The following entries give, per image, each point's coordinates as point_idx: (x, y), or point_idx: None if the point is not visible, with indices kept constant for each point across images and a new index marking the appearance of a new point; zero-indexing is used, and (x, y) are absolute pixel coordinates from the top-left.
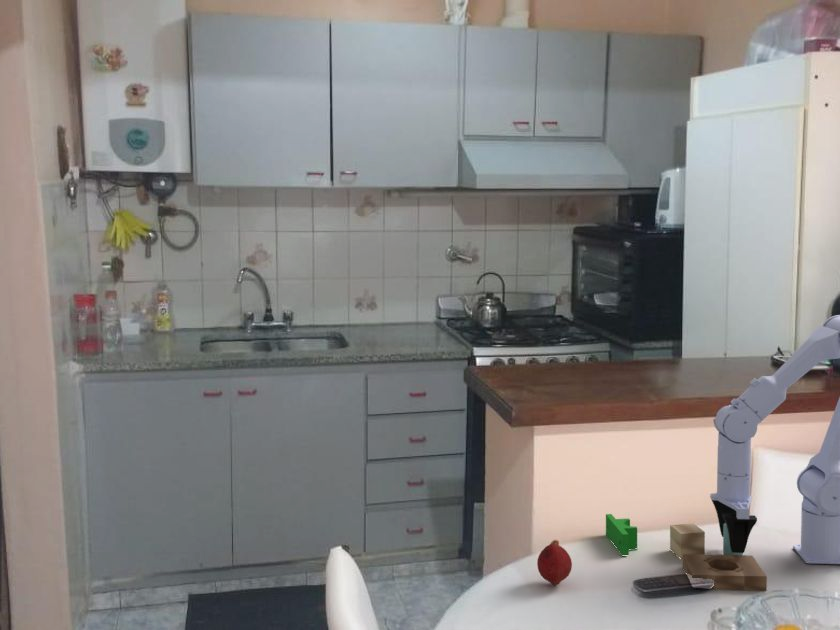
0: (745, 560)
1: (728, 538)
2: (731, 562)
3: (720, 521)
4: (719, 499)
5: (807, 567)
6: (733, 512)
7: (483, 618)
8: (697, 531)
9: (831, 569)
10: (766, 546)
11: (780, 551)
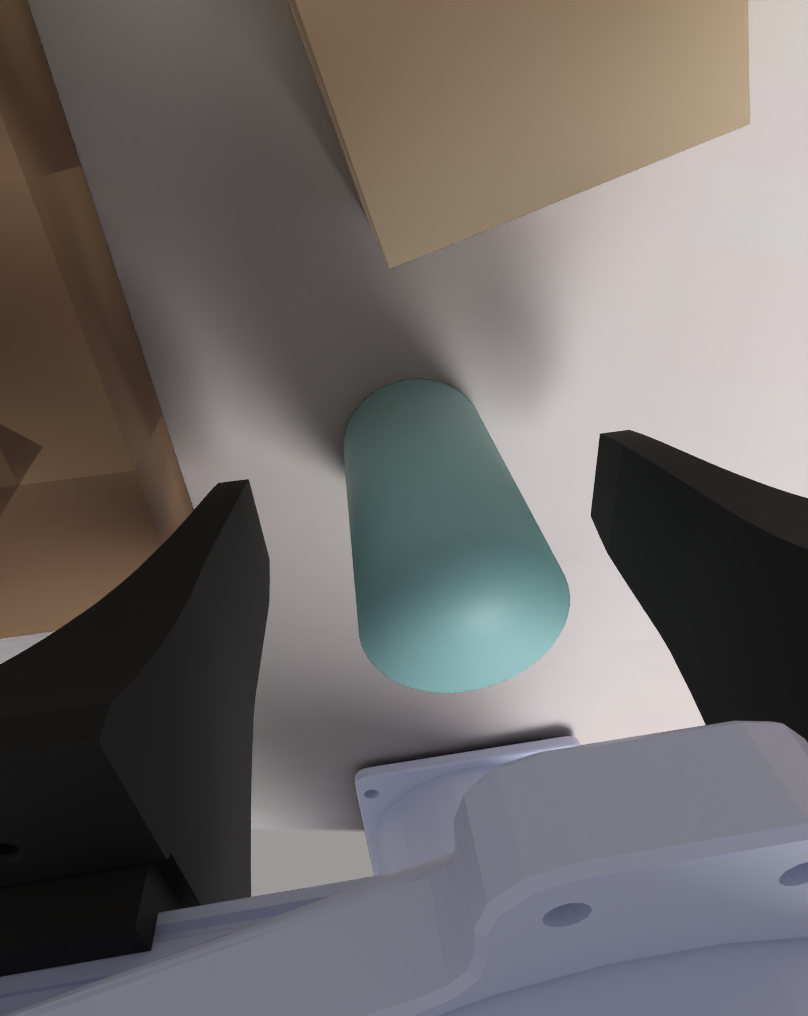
0: (45, 564)
1: (369, 504)
2: None
3: (687, 494)
4: (411, 936)
5: (317, 764)
6: (716, 682)
7: None
8: (391, 151)
9: (315, 827)
10: (604, 633)
11: (527, 684)
